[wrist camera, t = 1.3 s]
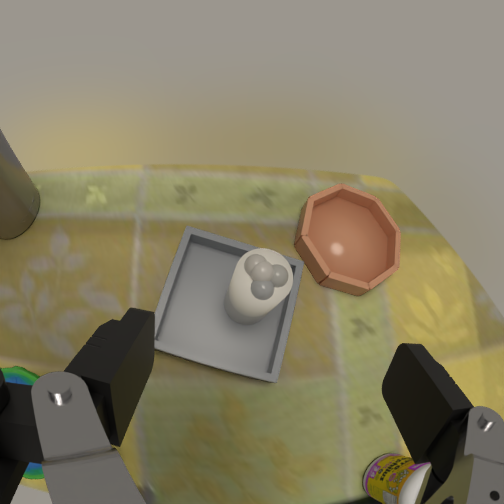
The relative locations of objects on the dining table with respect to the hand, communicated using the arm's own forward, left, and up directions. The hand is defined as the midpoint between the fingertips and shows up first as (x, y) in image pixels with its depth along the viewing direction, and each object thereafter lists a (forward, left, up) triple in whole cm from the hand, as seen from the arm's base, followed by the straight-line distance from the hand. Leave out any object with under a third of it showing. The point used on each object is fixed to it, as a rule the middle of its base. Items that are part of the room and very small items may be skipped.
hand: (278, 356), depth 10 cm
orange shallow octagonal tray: (+12, +20, -26) cm, 35 cm away
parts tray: (-1, +7, -26) cm, 27 cm away
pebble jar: (+1, +8, -25) cm, 27 cm away
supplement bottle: (+24, -10, -26) cm, 37 cm away
